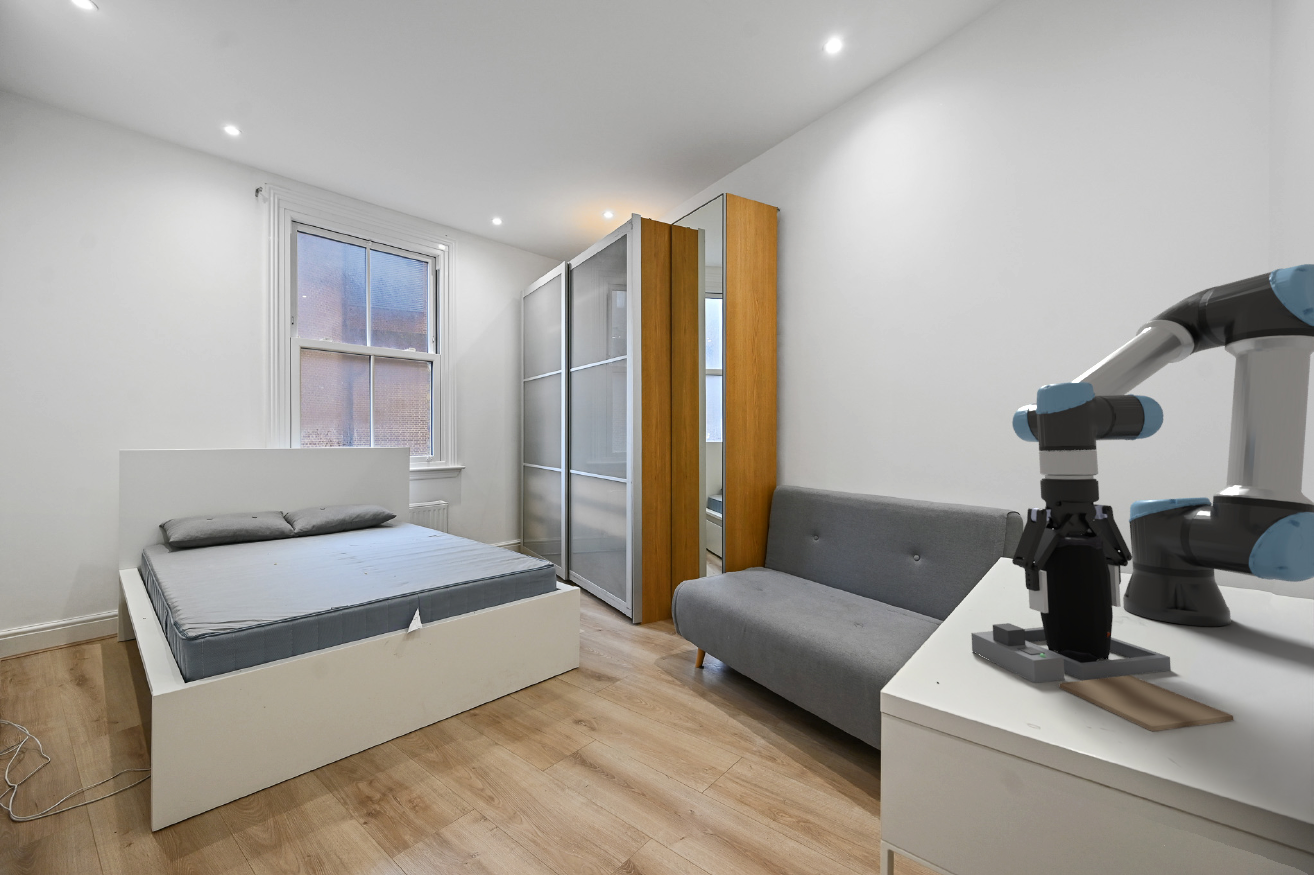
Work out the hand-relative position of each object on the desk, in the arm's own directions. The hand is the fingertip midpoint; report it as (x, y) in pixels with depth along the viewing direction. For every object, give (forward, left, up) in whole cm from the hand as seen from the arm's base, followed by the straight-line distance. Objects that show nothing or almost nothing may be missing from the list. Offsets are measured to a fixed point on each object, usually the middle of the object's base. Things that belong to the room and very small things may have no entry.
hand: (1075, 607), depth 85 cm
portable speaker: (0, 0, -8) cm, 8 cm away
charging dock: (+2, 0, -8) cm, 8 cm away
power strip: (+12, +1, -8) cm, 15 cm away
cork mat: (+7, +15, -8) cm, 18 cm away
